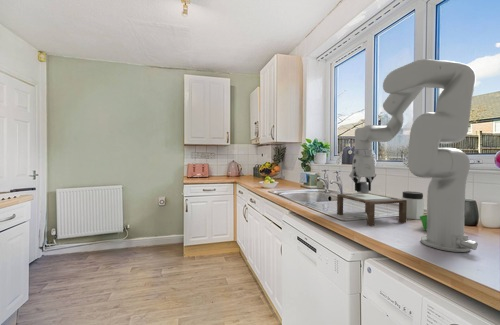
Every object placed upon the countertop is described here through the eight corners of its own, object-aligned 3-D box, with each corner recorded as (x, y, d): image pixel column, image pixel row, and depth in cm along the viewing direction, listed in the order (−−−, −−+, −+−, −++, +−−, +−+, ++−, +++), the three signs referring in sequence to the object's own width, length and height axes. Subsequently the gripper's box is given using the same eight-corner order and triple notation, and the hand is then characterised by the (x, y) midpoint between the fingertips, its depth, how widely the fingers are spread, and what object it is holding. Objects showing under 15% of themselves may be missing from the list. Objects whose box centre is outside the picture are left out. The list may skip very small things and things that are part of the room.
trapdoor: (396, 202, 109) (397, 199, 109) (370, 204, 105) (371, 200, 105) (368, 196, 126) (368, 193, 126) (344, 197, 122) (344, 194, 122)
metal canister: (371, 192, 118) (371, 182, 118) (362, 193, 116) (362, 182, 116) (363, 191, 123) (363, 181, 123) (354, 191, 121) (354, 181, 121)
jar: (426, 220, 112) (427, 194, 112) (406, 219, 114) (407, 193, 113) (417, 215, 121) (417, 191, 121) (399, 215, 122) (399, 191, 122)
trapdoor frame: (406, 222, 107) (406, 200, 107) (370, 226, 102) (370, 202, 102) (368, 212, 129) (368, 193, 129) (337, 214, 124) (337, 194, 123)
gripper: (353, 153, 113) (353, 192, 113) (383, 153, 118) (383, 191, 118) (343, 153, 121) (342, 190, 121) (371, 153, 125) (371, 189, 125)
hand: (362, 190), depth 119 cm, fingers closed on metal canister, 5 cm apart
